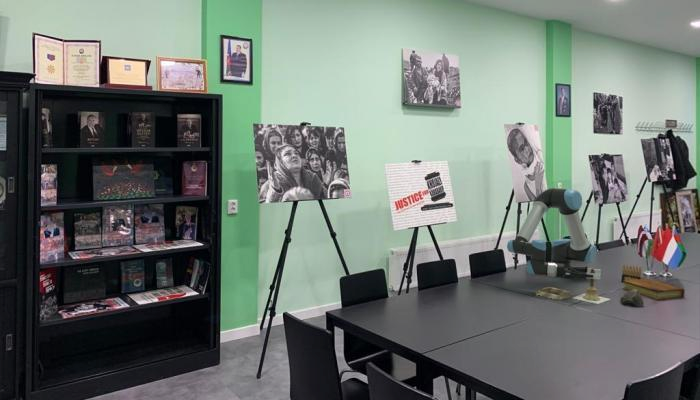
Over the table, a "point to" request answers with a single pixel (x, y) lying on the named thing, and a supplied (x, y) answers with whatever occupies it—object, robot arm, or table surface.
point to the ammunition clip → (631, 273)
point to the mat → (592, 300)
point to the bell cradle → (549, 289)
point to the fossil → (632, 298)
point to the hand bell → (591, 290)
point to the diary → (654, 289)
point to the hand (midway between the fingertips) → (600, 274)
